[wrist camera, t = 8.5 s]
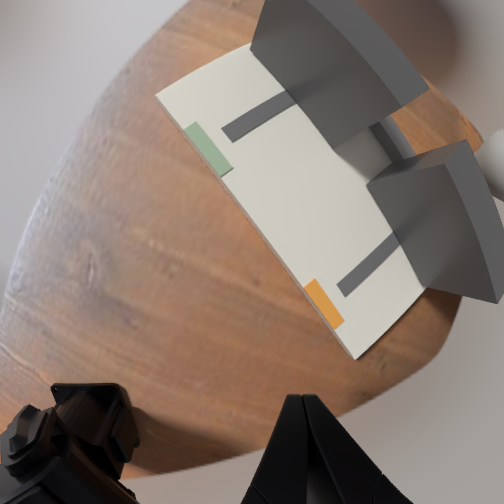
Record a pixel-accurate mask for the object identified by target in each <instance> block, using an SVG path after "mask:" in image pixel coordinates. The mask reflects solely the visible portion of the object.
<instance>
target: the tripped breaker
mask: <svg viewBox="0 0 504 504" xmlns="http://www.w3.org/2000/svg"><path fill="white" fill-rule="evenodd" d="M366 186H367V188H368V189H369V191H370V192H371V194H372V196H373V197H374V199H375V200H376V202H377V204H378V205H379V207H380V209H381V210H382V212H383V214H384V215H385V217H386V219H387V220H388V222H389V224H390V225H391V227H392V229H393V231H394V232H395V234H396V236H397V238H398V240H399V241H400V243H401V245H402V247H403V249H404V251H405V253H406V255H407V256H408V258H409V260H410V262H411V264H412V266H413V268H414V270H415V272H416V274H417V276H418V278H419V280H420V282H421V284H422V286H424V287H428V288H432V289H436V290H441V291H445V292H449V293H453V294H457V295H462V296H466V297H470V298H474V299H479V300H483V301H487V302H491V303H495V304H498V302H499V301H500V299H501V297H502V295H503V294H504V228H503V225H502V222H501V219H500V216H499V213H498V210H497V208H496V205H495V202H494V199H493V197H492V194H491V192H490V189H489V187H488V184H487V182H486V179H485V177H484V175H483V173H482V170H481V168H480V166H479V164H478V162H477V159H476V157H475V155H474V153H473V151H472V149H471V147H470V145H469V143H468V141H467V139H465V140H462V141H459V142H456V143H453V144H450V145H446V146H443V147H440V148H437V149H434V150H431V151H428V152H425V153H422V154H419V155H416V156H413V157H410V158H407V159H404V160H401V161H398V162H395V163H392V164H390V165H388V166H387V167H386V168H385V169H384V170H383V171H381V172H380V173H379V174H378V175H377V176H375V177H374V178H373V179H372V180H371V181H369V182H368V183H367V184H366Z"/></svg>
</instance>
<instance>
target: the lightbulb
mask: <svg viewBox="0 0 504 504" xmlns="http://www.w3.org/2000/svg"><path fill="white" fill-rule="evenodd" d="M474 155H475V157H476V159H477V162H478V164H479V166H480V168H481V170H482V173H483V175H484V177H485V179H486V182H487V184H488V187H489V189H490V192H491V194H492V195H493V196H494V197H496V198H498V199H500V200H501V201H503V202H504V129H500V130H497V131H495V132H494V133H492V134H491V135H489V136H488V138H487V139H486V140H485V141H484V143H483V144H482V145H481V147H480V148H479V149H478V150H477V151H476V152H475V153H474Z"/></svg>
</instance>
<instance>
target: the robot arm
mask: <svg viewBox="0 0 504 504" xmlns="http://www.w3.org/2000/svg"><path fill="white" fill-rule="evenodd" d="M55 388H56V389H57V390H58V391H57V390H56V389H55ZM111 388H113V389H115V391H113V390H111ZM51 392H52V394H53V396H54V399H55V401H56V405H55V406H54V408H53V407H51V408H48V409H45V410H43V411H41V410H40V409H37V408H35V407H33V406H31V405H30V404H29V405H26V406H24V407H23V408H22V410H21V411H20V412H19V413H18V414H17V415H16V416H15V418H14V419H13V421H12V423H10V424H9V425H8V427H7V430H5V431H4V432H3V433H2V434H1V436H0V453H1V464H0V504H140V503H139V502H138V501H137V500H136V497H135V494H134V493H133V492H132V491H131V490H130V489H127V488H126V487H125V486H124V485H122V484H121V483H120V482H119V481H118V480H120V478H121V474H122V470H123V467H124V463H129V462H130V461H131V457H132V454H133V450H134V448H138V447H139V445H140V440H139V438H138V429H137V427H136V425H135V422H134V420H133V417H132V414H131V412H130V409H129V408H128V407H127V406H126V405H125V403H124V400H123V397H122V394H121V391H120V388H119V387H118V385H117V384H115V383H90V384H62V383H55V384H53V385H52V386H51ZM135 442H136V443H135ZM241 504H413V503H412V502H411V501H410V500H409V499H408V498H406V497H405V496H404V495H403V494H402V493H401V492H400V491H399V490H398V489H397V488H396V487H395V486H394V485H393V484H392V483H391V482H390V481H389V479H388V478H387V477H386V476H385V475H384V474H382V472H381V471H380V469H379V468H378V467H377V466H376V465H375V464H374V463H373V461H372V460H371V459H370V458H369V457H368V456H367V454H366V453H365V452H364V451H363V450H362V449H361V447H360V446H359V445H358V444H357V443H356V442H355V440H354V439H353V438H352V437H351V436H350V435H349V433H348V432H347V431H346V430H345V428H344V427H343V426H342V425H341V424H340V423H339V421H338V420H337V419H336V418H335V416H334V415H333V414H332V413H331V412H330V410H329V409H328V408H327V407H326V406H325V404H324V403H323V402H322V401H321V399H320V398H319V397H318V396H317V395H316V394H303V395H302V396H301V395H300V394H288V395H287V396H286V399H285V401H284V404H283V407H282V409H281V412H280V415H279V417H278V420H277V422H276V425H275V427H274V430H273V432H272V435H271V437H270V440H269V442H268V445H267V447H266V449H265V452H264V454H263V457H262V459H261V461H260V464H259V466H258V468H257V470H256V473H255V475H254V477H253V479H252V482H251V484H250V486H249V488H248V490H247V492H246V494H245V497H244V498H243V500H242V502H241Z"/></svg>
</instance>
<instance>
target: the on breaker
mask: <svg viewBox="0 0 504 504" xmlns="http://www.w3.org/2000/svg"><path fill="white" fill-rule="evenodd" d="M249 50H250V51H251V52H252V53H253V54H254V55H255V56H256V57H257V58H258V59H259V60H260V61H261V62H262V63H263V64H264V65H265V66H266V67H267V69H268V70H269V71H270V72H271V73H272V74H273V75H274V76H275V77H276V78H277V80H278V81H279V82H280V83H281V84H282V85H283V86H284V88H285V89H286V90H287V91H288V92H289V93H290V95H291V96H292V97H293V98H294V99H295V101H296V102H297V103H298V104H299V105H300V107H301V108H302V109H303V110H304V111H305V113H306V114H307V115H308V116H309V118H310V119H311V120H312V122H313V123H314V124H315V125H316V127H317V128H318V129H319V131H320V132H321V133H322V134H323V136H324V137H325V138H326V140H327V141H328V143H329V144H330V145H331V147H332V148H333V149H334V148H335V147H337V146H338V145H340V144H342V143H343V142H345V141H347V140H348V139H350V138H351V137H353V136H355V135H356V134H358V133H360V132H361V131H363V130H365V129H366V128H368V127H370V126H371V125H373V124H375V123H376V122H378V121H380V120H381V119H383V118H385V117H386V116H388V115H390V114H392V113H393V112H395V111H397V110H398V109H400V108H402V107H403V106H405V105H406V104H408V103H409V102H411V101H412V100H414V99H415V98H417V97H418V96H420V95H421V94H422V93H424V92H425V91H427V90H428V89H430V88H429V87H428V85H427V84H426V82H425V81H424V80H423V78H422V77H421V75H420V74H419V73H418V71H417V70H416V69H415V67H414V66H413V65H412V63H411V62H410V61H409V60H408V58H407V57H406V56H405V55H404V53H403V52H402V51H401V50H400V49H399V47H398V46H397V45H396V44H395V43H394V42H393V40H392V39H391V38H390V37H389V36H388V35H387V34H386V32H385V31H384V30H383V29H382V28H381V27H380V26H379V25H378V24H377V23H376V22H375V21H374V20H373V19H372V18H371V17H370V16H369V15H368V14H367V13H366V12H365V11H364V10H363V9H362V8H361V7H360V6H359V5H358V4H357V3H356V2H355V1H354V0H265V2H264V5H263V8H262V11H261V14H260V18H259V21H258V24H257V27H256V30H255V33H254V36H253V40H252V43H251V46H250V49H249Z"/></svg>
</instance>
